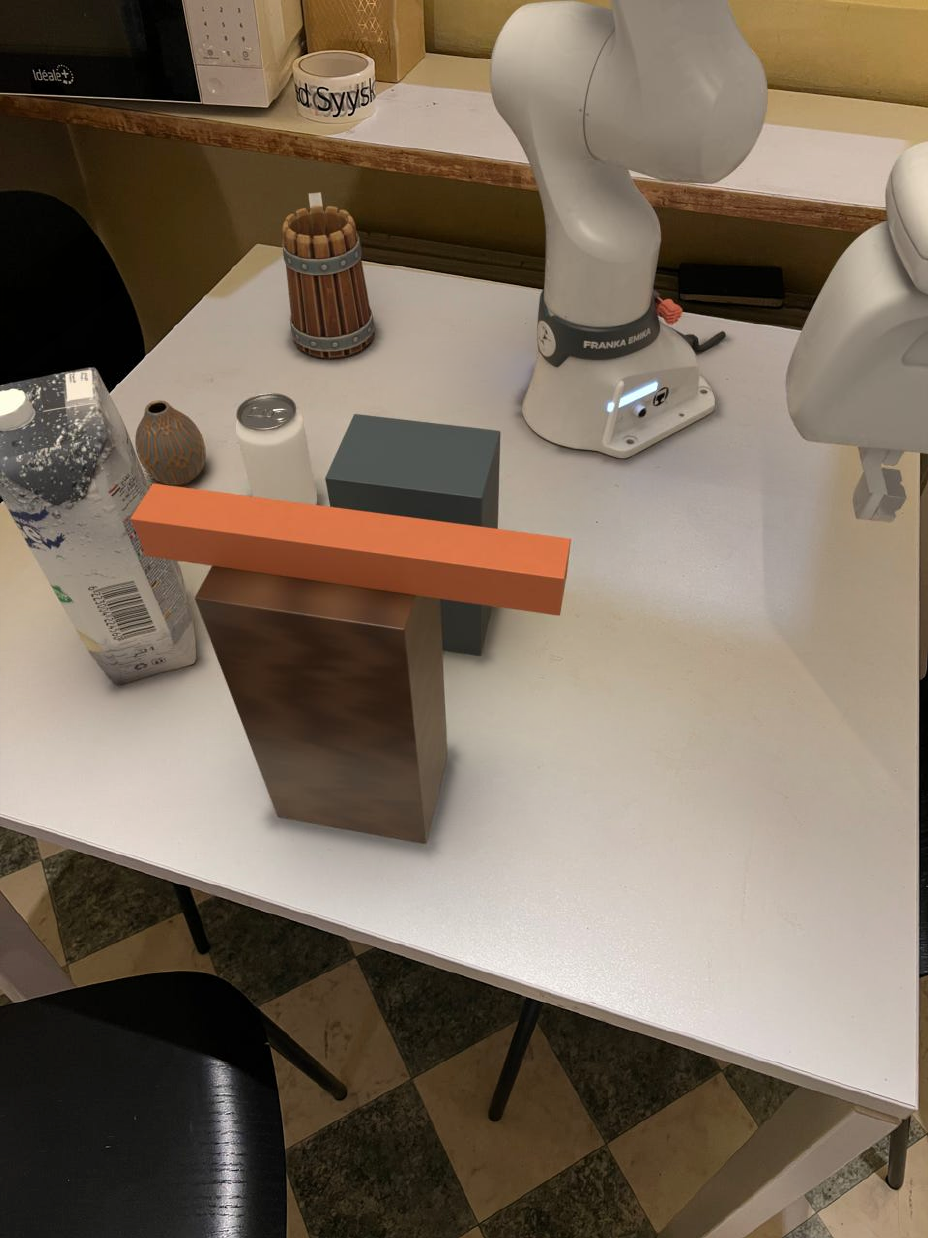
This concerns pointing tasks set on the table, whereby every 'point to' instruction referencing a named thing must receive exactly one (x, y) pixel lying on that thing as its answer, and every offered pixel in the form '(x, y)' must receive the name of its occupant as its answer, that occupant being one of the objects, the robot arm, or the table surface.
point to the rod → (355, 548)
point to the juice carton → (91, 523)
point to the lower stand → (423, 490)
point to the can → (275, 449)
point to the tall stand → (335, 696)
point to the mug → (326, 282)
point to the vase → (169, 445)
